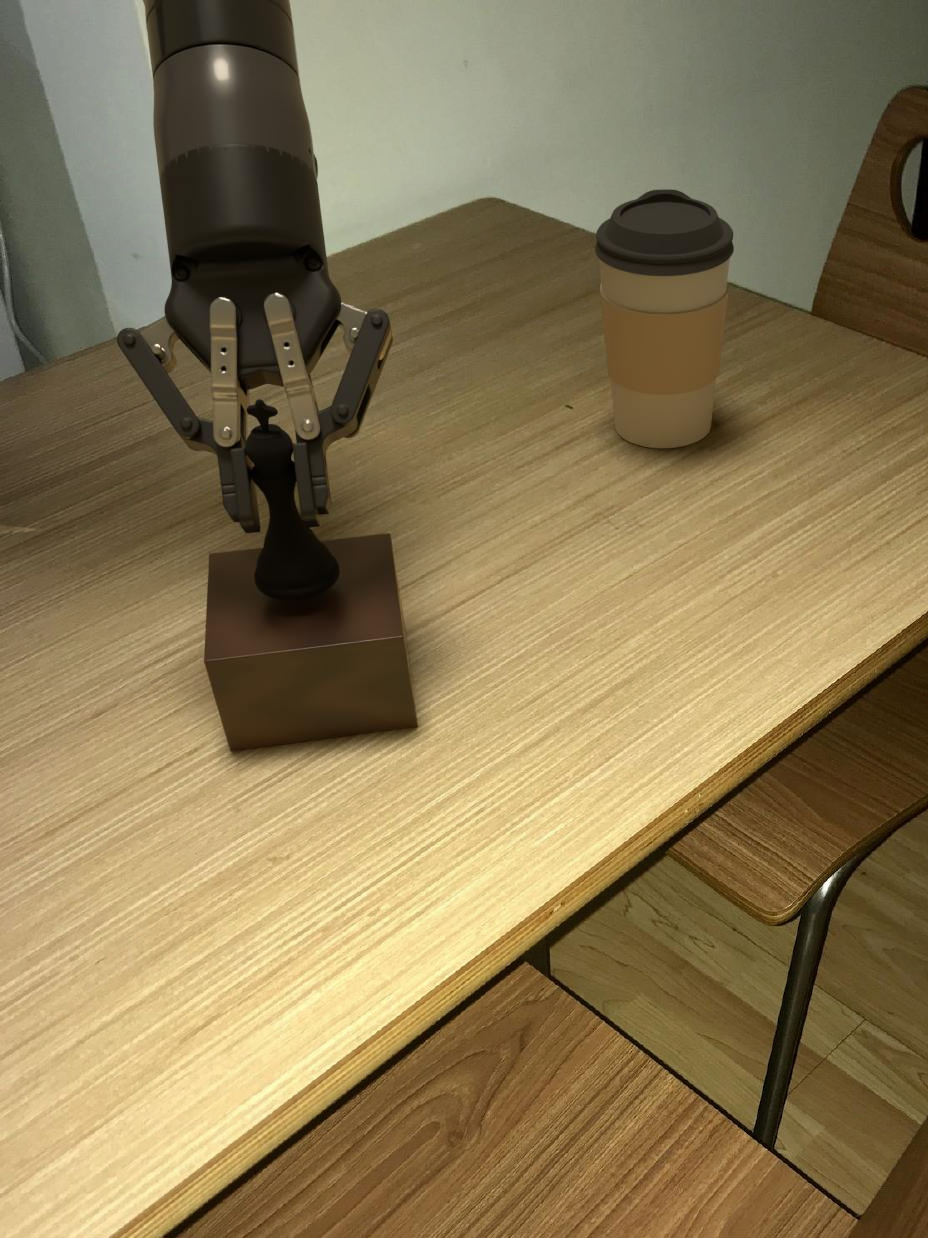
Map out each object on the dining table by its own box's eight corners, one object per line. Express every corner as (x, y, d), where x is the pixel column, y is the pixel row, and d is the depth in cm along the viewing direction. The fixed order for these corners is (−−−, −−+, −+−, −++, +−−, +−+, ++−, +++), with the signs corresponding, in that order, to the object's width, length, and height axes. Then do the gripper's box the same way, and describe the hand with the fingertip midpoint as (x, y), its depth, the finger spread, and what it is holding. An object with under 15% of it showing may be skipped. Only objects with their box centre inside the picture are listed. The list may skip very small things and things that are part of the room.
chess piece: (273, 550, 72) (233, 374, 65) (351, 558, 71) (319, 381, 64) (242, 596, 69) (196, 418, 62) (323, 605, 68) (285, 426, 61)
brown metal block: (230, 751, 71) (203, 661, 67) (232, 641, 78) (208, 553, 74) (418, 726, 72) (403, 636, 68) (404, 620, 79) (390, 532, 75)
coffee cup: (728, 456, 92) (739, 234, 82) (598, 457, 93) (591, 235, 82) (723, 395, 99) (732, 181, 88) (601, 395, 99) (595, 182, 88)
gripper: (69, 147, 61) (115, 522, 61) (374, 127, 63) (418, 493, 63) (115, 222, 69) (156, 557, 69) (386, 203, 70) (426, 530, 70)
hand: (281, 525), depth 66 cm, fingers closed on chess piece, 2 cm apart
